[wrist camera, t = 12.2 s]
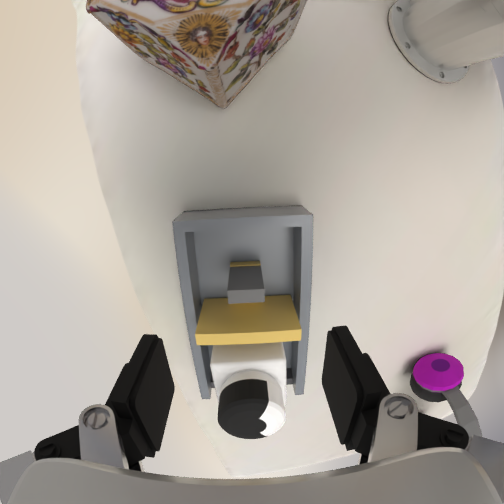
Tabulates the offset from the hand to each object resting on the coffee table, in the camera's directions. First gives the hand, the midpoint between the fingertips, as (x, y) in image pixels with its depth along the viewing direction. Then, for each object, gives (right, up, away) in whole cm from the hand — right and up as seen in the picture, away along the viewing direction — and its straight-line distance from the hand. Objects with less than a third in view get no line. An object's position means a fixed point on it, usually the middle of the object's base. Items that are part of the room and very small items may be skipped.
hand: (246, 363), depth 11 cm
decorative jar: (-3, +26, +12) cm, 29 cm away
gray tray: (0, -1, +21) cm, 21 cm away
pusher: (0, +1, +19) cm, 19 cm away
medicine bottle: (0, -7, +22) cm, 23 cm away
